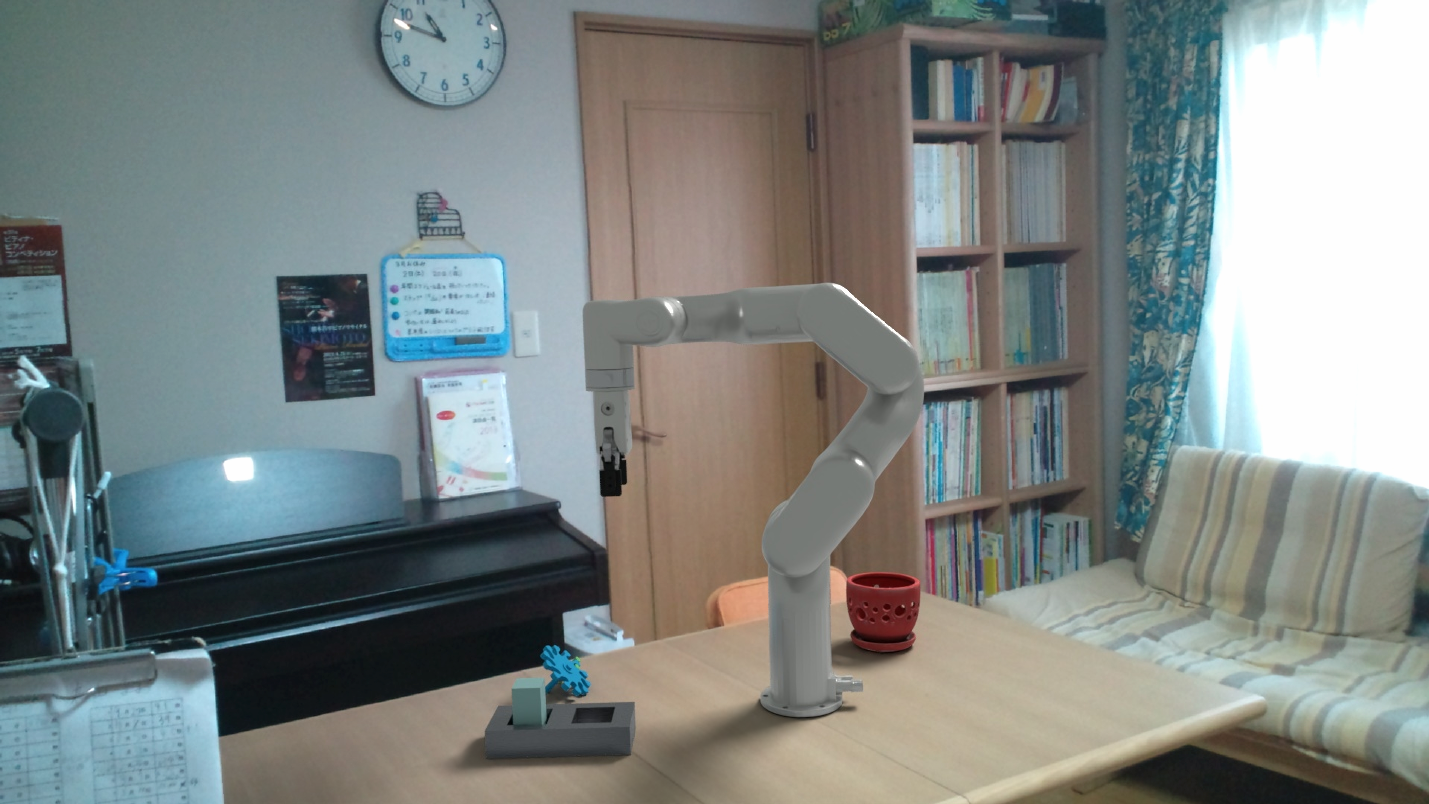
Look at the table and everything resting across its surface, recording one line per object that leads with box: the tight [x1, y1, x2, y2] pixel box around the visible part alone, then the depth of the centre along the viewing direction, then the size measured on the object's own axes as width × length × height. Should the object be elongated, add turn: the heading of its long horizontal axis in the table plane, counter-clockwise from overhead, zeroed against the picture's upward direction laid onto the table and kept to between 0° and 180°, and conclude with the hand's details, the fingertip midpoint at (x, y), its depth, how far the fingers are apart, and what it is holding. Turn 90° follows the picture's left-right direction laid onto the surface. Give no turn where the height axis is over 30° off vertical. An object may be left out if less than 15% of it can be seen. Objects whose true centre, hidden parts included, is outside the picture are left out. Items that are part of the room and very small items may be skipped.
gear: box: [539, 644, 592, 697], centre depth 166 cm, size 11×6×10 cm
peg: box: [511, 676, 547, 725], centre depth 146 cm, size 4×4×9 cm
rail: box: [484, 701, 637, 760], centre depth 146 cm, size 20×9×4 cm, turn 90°
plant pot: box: [845, 571, 922, 654], centre depth 184 cm, size 13×13×12 cm
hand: (614, 490), depth 160 cm, fingers open, 9 cm apart
